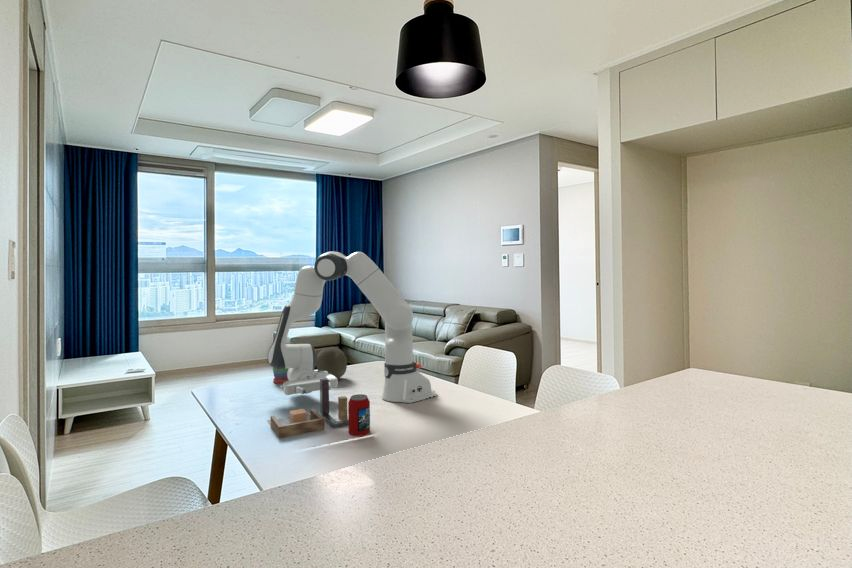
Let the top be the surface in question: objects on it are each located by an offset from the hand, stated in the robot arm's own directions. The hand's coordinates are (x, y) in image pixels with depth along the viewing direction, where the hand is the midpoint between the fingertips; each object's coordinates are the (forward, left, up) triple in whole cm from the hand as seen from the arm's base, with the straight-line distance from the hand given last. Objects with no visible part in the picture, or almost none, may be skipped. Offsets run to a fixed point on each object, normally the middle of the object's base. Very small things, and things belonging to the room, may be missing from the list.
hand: (316, 389), depth 170 cm
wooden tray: (+11, +12, -8) cm, 18 cm away
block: (+10, +13, -7) cm, 18 cm away
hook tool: (-3, +15, -8) cm, 17 cm away
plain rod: (-5, +14, -8) cm, 17 cm away
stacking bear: (0, -50, -8) cm, 50 cm away
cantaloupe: (-20, -42, -8) cm, 47 cm away
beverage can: (-5, +29, -8) cm, 31 cm away
